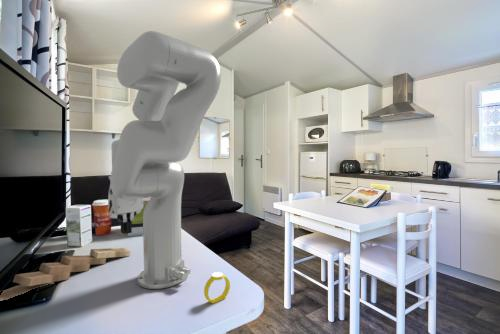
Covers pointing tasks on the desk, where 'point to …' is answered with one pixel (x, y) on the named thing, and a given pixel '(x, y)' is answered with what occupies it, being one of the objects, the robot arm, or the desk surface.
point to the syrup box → (78, 225)
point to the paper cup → (101, 217)
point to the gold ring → (213, 277)
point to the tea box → (139, 220)
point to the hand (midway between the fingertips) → (126, 232)
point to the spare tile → (109, 252)
